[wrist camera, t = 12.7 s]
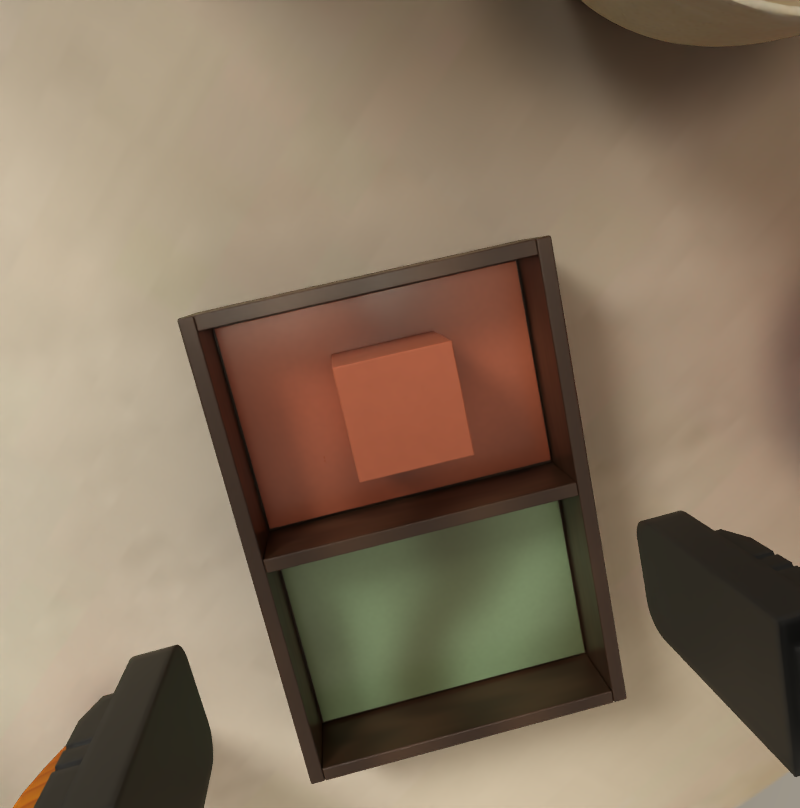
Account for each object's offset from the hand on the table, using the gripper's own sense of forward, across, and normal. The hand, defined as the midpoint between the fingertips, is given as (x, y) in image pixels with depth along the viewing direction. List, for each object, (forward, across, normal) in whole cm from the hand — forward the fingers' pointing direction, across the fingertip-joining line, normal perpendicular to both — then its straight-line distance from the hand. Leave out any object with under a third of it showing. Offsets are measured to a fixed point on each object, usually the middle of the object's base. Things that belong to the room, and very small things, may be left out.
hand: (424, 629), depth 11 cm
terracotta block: (+17, -2, -1) cm, 17 cm away
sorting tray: (+18, -2, +4) cm, 19 cm away
